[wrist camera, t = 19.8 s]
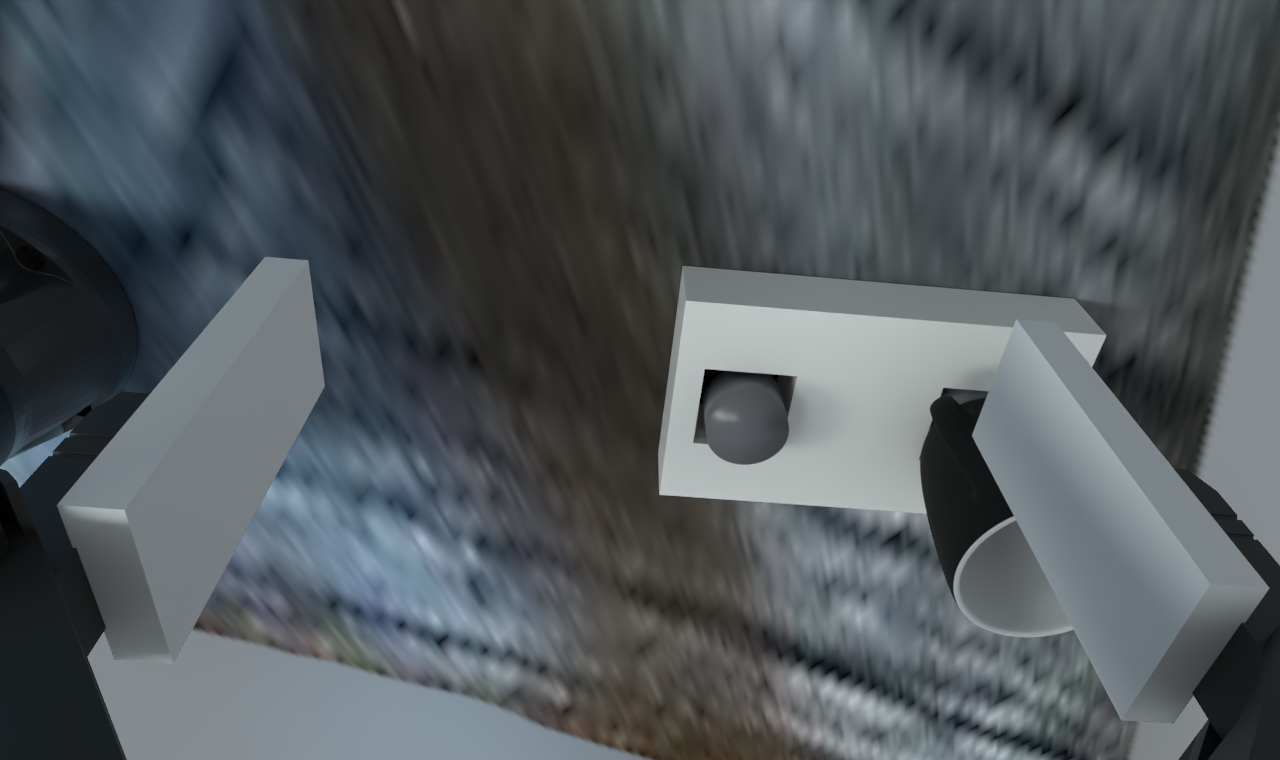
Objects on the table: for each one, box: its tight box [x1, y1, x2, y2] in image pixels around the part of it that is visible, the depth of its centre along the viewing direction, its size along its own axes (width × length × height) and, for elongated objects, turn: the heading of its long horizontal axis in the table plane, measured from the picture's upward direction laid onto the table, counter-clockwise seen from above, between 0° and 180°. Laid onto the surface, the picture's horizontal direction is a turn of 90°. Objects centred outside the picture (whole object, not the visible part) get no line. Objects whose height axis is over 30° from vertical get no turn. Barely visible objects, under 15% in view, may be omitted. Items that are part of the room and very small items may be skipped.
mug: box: [920, 396, 1074, 637], centre depth 44 cm, size 12×9×10 cm
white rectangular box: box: [658, 266, 1107, 514], centre depth 50 cm, size 22×13×4 cm, turn 85°
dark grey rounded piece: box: [703, 371, 789, 465], centre depth 47 cm, size 4×4×3 cm
